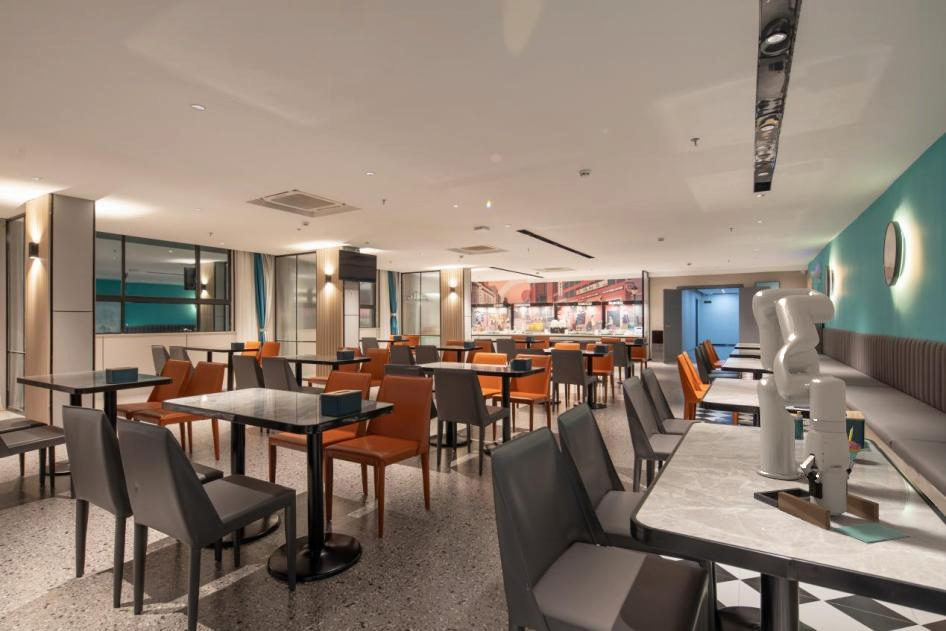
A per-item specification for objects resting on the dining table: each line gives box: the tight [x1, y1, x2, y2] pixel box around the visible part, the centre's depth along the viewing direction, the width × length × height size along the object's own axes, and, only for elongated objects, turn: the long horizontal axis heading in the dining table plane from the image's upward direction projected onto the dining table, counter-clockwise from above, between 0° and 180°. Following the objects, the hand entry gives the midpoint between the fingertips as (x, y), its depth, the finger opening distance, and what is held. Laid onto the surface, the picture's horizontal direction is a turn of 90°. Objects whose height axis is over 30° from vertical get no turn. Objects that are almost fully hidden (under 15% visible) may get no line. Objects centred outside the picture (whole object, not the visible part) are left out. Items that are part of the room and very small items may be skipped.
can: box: [810, 466, 847, 516], centre depth 125 cm, size 8×8×12 cm
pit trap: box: [753, 487, 810, 509], centre depth 136 cm, size 16×8×2 cm, turn 105°
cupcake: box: [848, 426, 862, 461], centre depth 176 cm, size 9×8×12 cm
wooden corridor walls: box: [778, 492, 880, 531], centre depth 126 cm, size 17×13×4 cm
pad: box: [833, 522, 910, 544], centre depth 115 cm, size 13×8×1 cm, turn 105°
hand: (828, 495), depth 125 cm, fingers closed on can, 7 cm apart
